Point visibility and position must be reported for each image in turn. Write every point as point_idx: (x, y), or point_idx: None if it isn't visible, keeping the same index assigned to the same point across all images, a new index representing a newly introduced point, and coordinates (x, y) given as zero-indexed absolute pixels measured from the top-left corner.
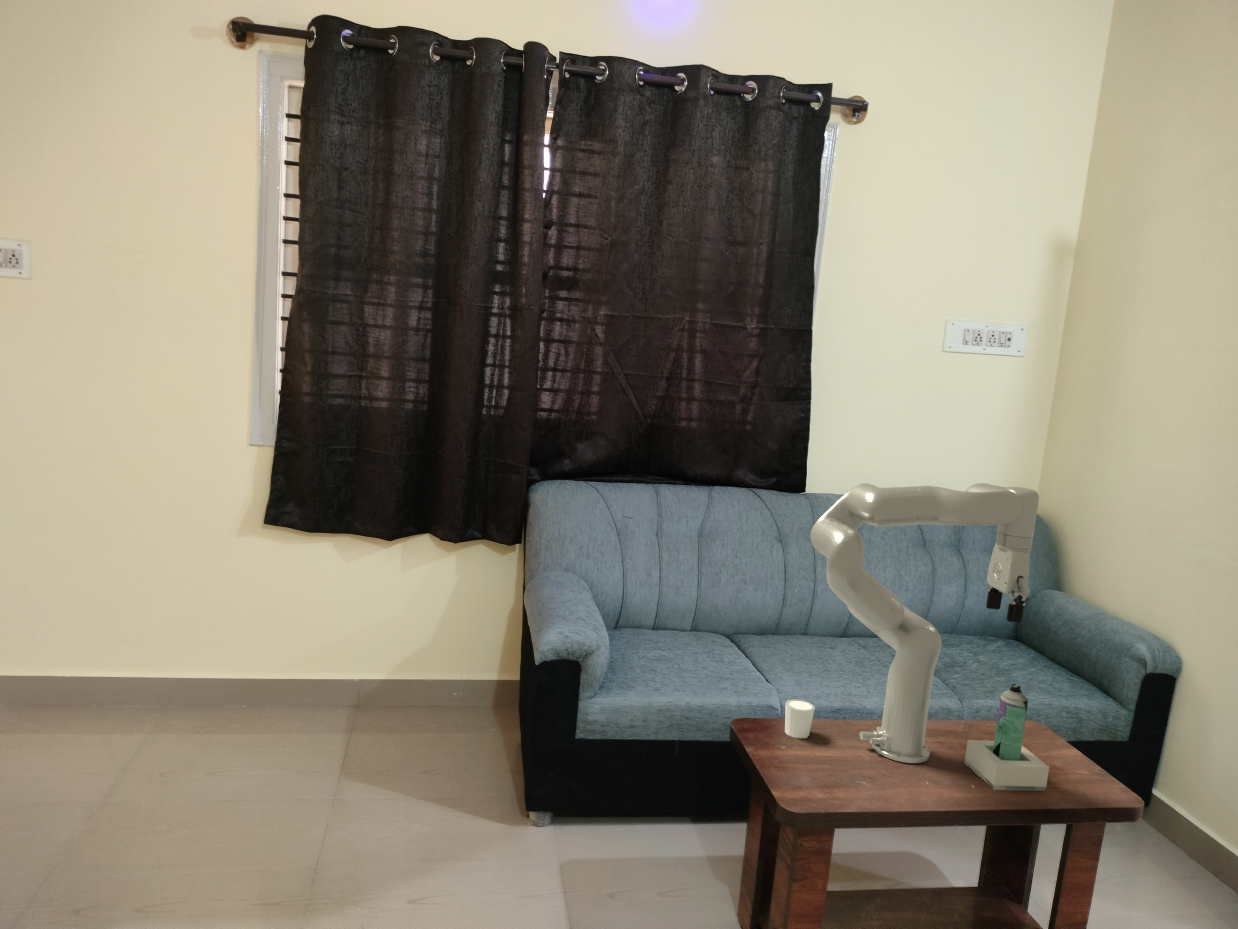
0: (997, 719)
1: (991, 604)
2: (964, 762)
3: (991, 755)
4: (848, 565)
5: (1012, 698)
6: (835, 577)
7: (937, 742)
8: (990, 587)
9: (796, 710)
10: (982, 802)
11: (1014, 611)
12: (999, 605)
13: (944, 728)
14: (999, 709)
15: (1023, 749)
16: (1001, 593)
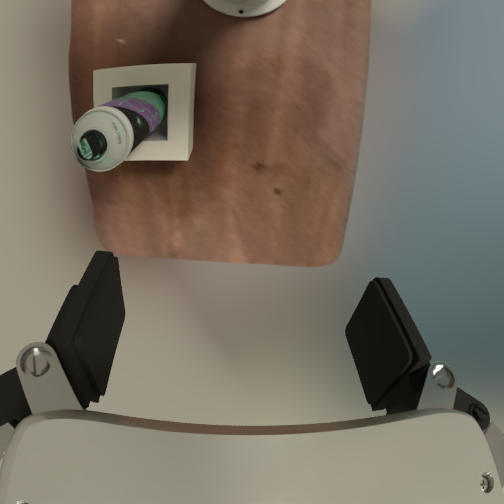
0: (133, 100)
1: (372, 310)
2: (196, 63)
3: (128, 78)
4: None
5: (78, 124)
6: None
7: (278, 60)
8: (431, 392)
9: None
10: (78, 37)
11: (57, 317)
12: (351, 342)
13: (330, 110)
14: (119, 102)
15: (156, 153)
16: (374, 405)
